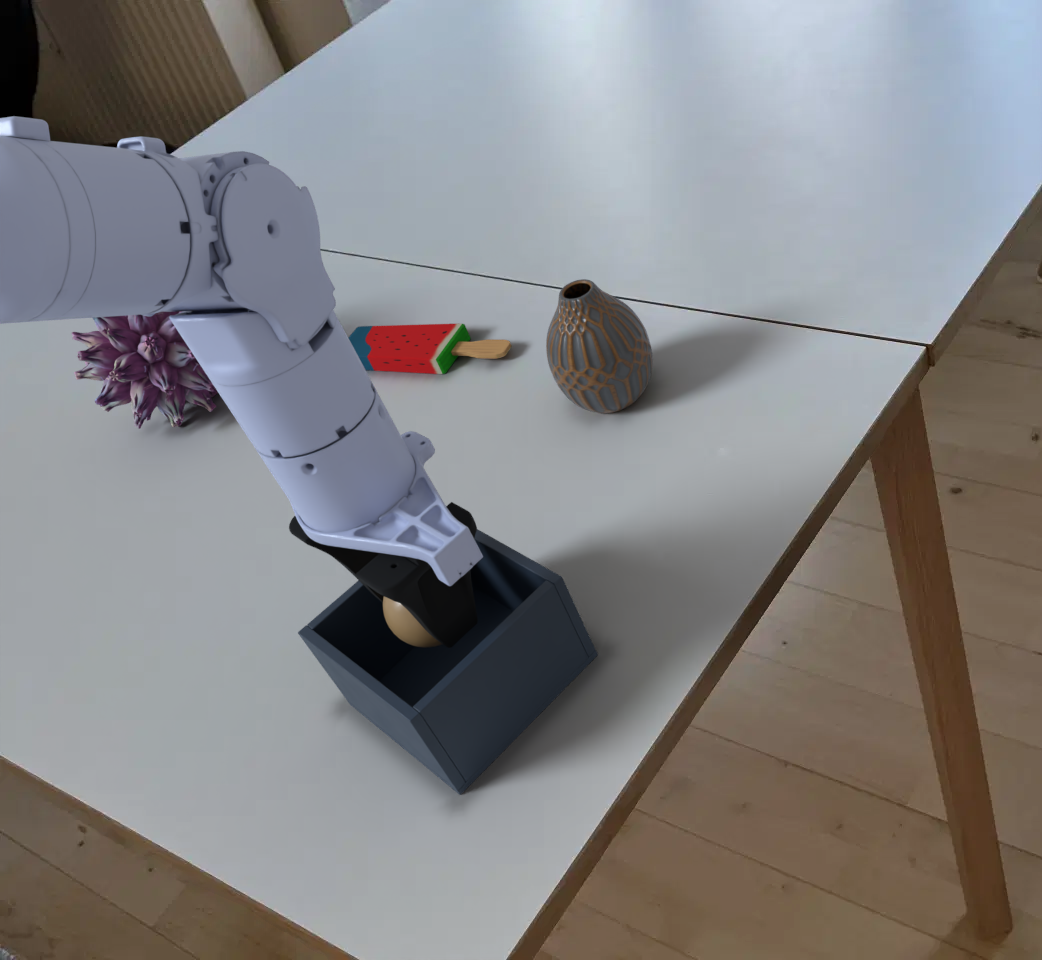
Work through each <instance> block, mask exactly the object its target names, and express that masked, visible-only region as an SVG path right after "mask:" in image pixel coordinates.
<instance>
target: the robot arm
mask: <svg viewBox="0 0 1042 960" xmlns="http://www.w3.org/2000/svg"><path fill="white" fill-rule="evenodd" d="M49 128H50V127H49V124H48V122H47V121H46V120H44V119H42V118H41V119H40V118H32V117H24V116H15V115H13V116H7V117H0V325H1V324H3V325H4V324H17V323H20V324H21V323H32V322H33V323H34V322H45V321H47V322H48V321H62V320H64V321H65V320H77V319H93V318H95V317H111V316H126V315H144V316H153V315H154V314H155V313H159V312H177V311H182V312H181V313H178V314H176V315H170V317H169V318H170V320H171V321H172V323H173V324H174V326H175V327H176V329H177V331H178V332H179V334H180V335H181V337H182V338H183V340H184V341H185V343H186V344H187V346H188V347H189V349H190V350H191V352H192V353H193V355H194V356H195V358H196V359H197V361H198V362H199V364H200V365H201V367H202V368H203V370H204V371H205V373H206V375H207V376H208V377H209V379H210V381H211V382H212V384H213V385H214V387H215V388H216V390H217V394H219V397H220V398H221V399H222V400H223V402H224V404H225V405H226V407H227V408H228V409H229V411H230V412H231V414H232V415H233V417H234V419H235V420H236V422H237V423H238V425H239V426H240V428H241V429H242V431H243V433H244V434H245V436H246V437H247V439H248V440H249V442H250V443H251V445H252V446H253V447H254V449H255V451H256V452H257V454H258V455H259V456H260V458H261V460H262V462H263V463H264V464H265V466H266V468H267V469H268V471H269V472H270V473H271V475H272V476H273V478H274V479H275V481H276V482H277V485H278V486H279V487H280V488H281V490H282V492H283V493H284V495H285V496H286V498H287V500H288V501H289V502H290V505H291V508H292V511H293V513H294V516H293V517H292V518H291V519H290V522H289V524H288V529H289V532H290V534H291V535H293V536H294V537H295V538H297V539H298V540H300V541H301V542H303V543H304V544H306V545H307V546H309V547H311V548H314V549H317V550H319V551H322V552H324V553H325V554H327V555H329V556H331V557H332V558H333V559H335V560H336V562H338V563H339V564H340V565H341V566H343V567H344V568H345V569H346V570H347V571H348V572H349V573H350V574H351V575H352V576H353V577H355V578H356V580H357V581H358V580H359V581H360V582H361V583H362V584H363V585H364V586H365V587H366V588H367V589H368V590H369V591H370V592H371V593H372V594H373V595H374V596H375V597H377V598H378V599H379V600H380V601H381V602H383V597H384V596H385V597H387V598H389V599H391V600H393V601H395V602H398V603H400V604H402V605H403V606H404V607H405V608H406V609H407V610H408V611H409V612H410V613H411V614H412V615H413V616H414V618H415V619H416V620H417V621H418V622H419V623H420V624H421V626H422V627H423V628H424V629H425V630H426V631H427V632H428V633H429V634H430V635H431V636H432V637H434V638H435V639H436V640H438V641H439V642H440V643H442V644H443V645H445V646H446V647H448V648H451V647H452V646H454V645H455V644H456V643H457V642H458V641H459V640H460V639H461V638H462V637H463V636H464V635H465V634H466V633H467V632H468V631H469V630H471V629H472V628H473V627H474V626H475V625H476V624H477V622H478V619H477V612H476V606H475V600H474V595H473V589H472V583H471V573H470V569H471V568H472V567H473V566H474V565H475V564H476V563H477V562H478V561H479V560H481V559H482V558H483V555H482V553H481V551H480V549H479V547H478V546H477V544H476V542H475V540H474V538H475V534H476V531H477V529H478V527H477V524H476V521H475V518H474V517H473V515H472V513H471V512H470V511H469V510H468V509H465V508H463V507H462V506H460V505H458V504H456V503H454V502H453V501H451V502H449V503H448V504H447V505H446V504H445V501H444V500H443V498H442V496H441V495H440V493H439V492H438V490H437V488H436V487H435V485H434V483H433V481H432V480H431V478H430V476H429V474H428V473H427V471H426V469H425V468H424V466H425V464H426V462H428V460H430V459H431V458H433V456H434V455H435V452H436V448H435V446H434V444H433V443H432V440H431V439H430V438H428V437H427V436H425V435H423V434H421V433H418V432H417V431H413V430H409V431H405V432H403V433H402V434H401V433H400V431H399V430H398V428H397V426H396V424H395V422H394V420H393V418H392V416H391V415H390V412H389V411H388V409H387V407H386V405H385V403H384V401H383V400H382V398H381V395H380V394H379V392H378V390H377V389H376V387H375V385H374V383H373V381H372V379H371V377H370V376H369V374H368V372H367V370H365V368H364V366H363V364H362V362H361V361H360V359H359V357H358V355H357V353H356V351H355V349H354V348H353V346H352V344H351V342H350V340H349V336H348V335H347V333H346V331H345V329H344V327H343V325H342V323H341V322H340V319H339V318H338V315H337V314H336V311H335V308H336V306H337V305H336V304H337V301H336V298H335V296H334V291H335V290H336V287H335V285H334V284H333V282H332V280H331V277H330V275H329V274H328V273H327V269H326V268H325V265H324V262H323V258H322V252H321V230H320V224H319V218H318V217H319V216H318V213H317V209H316V206H315V202H314V200H313V197H312V195H311V193H310V191H309V188H308V186H306V185H303V186H301V187H299V186H298V185H296V183H295V182H294V181H293V179H292V178H291V177H290V176H289V175H287V174H286V173H285V172H284V171H283V170H281V169H280V168H278V167H276V166H273V165H270V161H269V160H267V159H266V158H265V157H262V156H260V155H259V154H257V153H254V152H250V151H243V150H242V151H227V152H221V153H219V152H218V153H211V154H202V155H195V156H187V157H186V156H185V157H178V156H176V155H173V154H170V153H168V152H167V150H166V145H165V142H164V141H163V139H161V138H159V137H158V138H157V137H149V136H133V137H125V138H121V139H119V141H118V142H117V146H116V147H114V146H104V145H94V144H85V143H74V142H65V141H55V140H51V134H50V129H49Z"/></svg>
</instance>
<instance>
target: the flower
mask: <svg viewBox="0 0 1042 960" xmlns="http://www.w3.org/2000/svg"><path fill="white" fill-rule="evenodd" d="M181 312H182V311H177V312H159V313H155V314H154V315H153V316H144V315H126V316H111V317H95V318H92V320H93V321H94V323H95V326H96V329H97V330H91V331H89V332H79V331H72V332H71V336H72V340H73V341H77V342H80V343H81V344H83V345H84V346H85V347H87V349H84V350H83V349H82V350H79V351H77V353H76V354H77V356H76V357H77V359H78V361H79V362H84V364H85V366H84V367H82V368H81V369H79V370H76V371H74V372H73V374H74V377H75V380H83V379H86V380H92V381H97V382H103V383H102V385H101V389H100V393H99V395H98V396H97V397H96V398H95V399H94V403H95V405H97V406H99V407H100V408H101V409H102V410H103V411H105V412H106V413H109V412H110V411H111V410H112V409H114V408H116V407H121V406H123V405H128V404H130V407H131V412H132V415H133V426H134V427H137V428H138V430H140V429H141V428H142V426H143V424H144V422H145V421H146V422H147V421H151V418H152V413H153V412H154V411H155V409H156V408H157V409H158V410H159V412H160V413H161V415H163V416H164V417H165V418H166V419H167V420H168V421H169V423H170V425H171V427H172V428H176V427H181V426H182V425H183V423H182V422H183V421H184V420H185V416H184V409H185V405H186V401H187V402H188V403H189V404H191V405H197V406H201V407H203V408H204V409H206V410H207V411H208V412H210V413H211V412H213V411H214V409H215V408H217V405H216V404H215V402H213V399H212V398H214V397H215V396H216V395H217V394H218V391H217V390H216V388H215V387H214V385H213V384H212V382H211V381H210V379H209V377H208V376H207V375H206V373H205V371H204V370H203V368H202V367H201V365H200V364H199V362H198V361H197V359H196V358H195V356H194V355H193V353H192V352H191V350H190V349H189V347H188V346H187V344H186V343H185V341H184V340H183V338H182V337H181V335H180V334H179V332H178V331H177V329H176V327H175V326H174V324H173V323H172V321H171V320H170V318H169V317H170V315H176V314H178V313H181Z"/></svg>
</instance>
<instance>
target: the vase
mask: <svg viewBox="0 0 1042 960" xmlns="http://www.w3.org/2000/svg"><path fill="white" fill-rule="evenodd" d="M545 341H546V343H545V345H546V347H545V348H546V349H545V350H546V358H547V365H548V367H549V370H550V372H551V375H552V377H553V380H554V381H555V383H556V385H557V387H558V388H559V390H560V391H561V393H562V394H563V395H564V396H565V397H566V398H567V399H568V400H569V401H570V402H572V403H573V404H574V405H575V406H577V407H579V408H581V409H583V410H586V411H589V412H592V413H597V414H612V413H617V412H620V411H622V410H625V409H626V408H628V407H630V406H632V405H633V404H634V403H635V402H637V400H638V399H639V398H640V397H641V396H642V394H643V393H644V392H645V391H646V389H647V387H648V384H649V382H650V380H651V377H652V372H653V361H654V359H653V350H652V349H653V348H652V344H651V342H650V338H649V334H648V332H647V329H646V327H645V326H644V324H643V322H642V320H641V318H640V317H639V316H638V314H636V312H635V311H634V310H633V308H631V306H629V305H628V304H627V303H625V302H624V301H623V300H621V299H620V298H617V297H616V296H614V295H611V294H610V293H607V292H606V291H604V290H602V289H601V287H599V286H598V285H597V284H596V283H595V282H594V281H592V280H590V279H585V278H584V279H583V278H582V279H575V280H573V281H570V282H568V283H566V284H565V285H564V286H563V287H562V288H561V289H560V291H559V293H558V301H557V306H556V309H555V311H554V313H553V316H552V318H551V321H550V323H549V326H548V330H547V333H546V340H545Z"/></svg>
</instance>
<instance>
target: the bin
mask: <svg viewBox="0 0 1042 960" xmlns="http://www.w3.org/2000/svg"><path fill="white" fill-rule="evenodd" d="M474 540H475V542H476V544H477V546H478V547H479V549H480V551H481V553H482V555H483V558H482V559H481V560H479V561H478V562H477V563H476V564H475V565H474V566H473V567H472V568H471V569H470V573H471V583H472V589H473V595H474V600H475V606H476V612H477V619H478V622H477V624H476V625H475V626H474V627H473V628H472V629H471V630H469V631H468V632H467V633H466V634H465V635H464V636H463V637H462V638H461V639H460V640H459V641H458V642H457V643H456V644H455V645H454V646H452V647H451V648H448V647H446V646H445V645H443V644H442V645H439V646H435V647H417V646H413V645H410V644H408V643H406V642H404V641H402V640H401V639H399V638H398V637H397V636H396V635H395V634H394V633H393V632H392V630H391V629H390V628H389V626H388V624H387V622H386V620H385V616H384V612H383V602H381V601H380V600H379V599H378V598H377V597H375V596H374V595H373V594H372V593H371V592H370V591H369V590H368V589H367V588H366V587H365V586H364V585H363V584H362V583H361V582H360V581H359V580H358V579H357V581H356V582H355V583H354V584H352V585H351V586H350V587H349V588H348V589H346V590H345V591H344V592H343V593H341V595H339V596H338V597H337V598H336V599H335V600H334V601H333V602H331V603H330V604H329V605H328V606H327V607H325V609H323V610H322V611H321V612H320V613H319V614H318V615H317V616H315V617H314V618H313V619H311V620H310V622H308V623H307V625H304V626H303V627H302V628H301V629H300V630H298V632H297V634H298V635H299V638H301V640H302V641H303V643H304V644H305V645H306V646H307V648H308V649H309V651H310V652H311V653H312V655H313V656H314V658H315V659H316V660H317V662H318V663H319V664H320V666H321V667H322V668H323V670H324V671H325V673H326V674H327V675H328V676H329V678H330V680H331V681H332V682H333V683H334V685H335V686H336V687H337V689H338V690H339V691H340V693H341V694H342V696H343V697H344V699H345V700H346V701H347V702H348V704H349V705H350V706H351V707H352V708H354V710H356V711H357V712H358V713H359V714H361V715H362V716H363V717H364V718H366V719H367V720H368V721H369V722H370V723H372V724H373V725H374V726H375V727H377V729H379V730H380V731H381V732H382V733H384V734H385V735H386V736H388V737H389V738H390V739H391V740H392V741H394V743H396V744H397V745H398V746H400V747H401V748H402V749H403V750H404V751H406V752H407V753H408V754H409V755H410V756H412V757H413V758H414V759H416V761H418V762H419V763H420V764H422V765H423V766H424V767H425V768H426V769H428V770H429V772H431V773H433V774H434V775H435V776H436V777H437V778H438V779H440V780H441V781H442V782H443V783H445V784H446V785H447V786H448V787H450V789H452V790H453V791H455V793H457V794H458V795H459V796H461V795H463V793H464V792H465V791H466V790H467V789H468V788H469V787H470V786H471V785H472V784H473V783H474V782H475V781H476V780H477V779H478V778H479V777H480V776H481V775H482V774H483V773H484V772H485V771H486V770H487V769H488V768H489V767H490V766H491V765H492V763H494V761H496V759H497V758H498V757H500V755H502V753H503V752H504V751H505V750H506V749H507V748H508V747H509V746H510V745H512V744H513V742H514V741H515V740H516V739H517V738H518V737H519V736H520V735H521V734H522V733H523V732H524V731H525V730H526V729H527V728H528V727H529V726H530V725H531V724H532V723H533V722H534V721H535V720H536V719H537V718H538V717H539V716H540V715H541V714H542V712H544V711H545V709H547V708H548V707H549V706H550V704H551V703H552V702H553V701H554V700H556V698H557V697H558V696H559V695H560V694H562V693H563V691H564V690H565V689H566V688H567V687H568V686H569V685H570V684H571V683H572V682H573V681H574V680H575V679H576V678H577V677H578V676H579V675H581V673H582V672H583V671H584V670H585V669H586V668H587V667H588V666H589V664H591V663H592V661H594V659H596V658H597V657H598V656H599V654H598V651H597V650H596V648H595V645H594V643H593V641H592V639H591V637H590V635H589V632H588V630H587V628H586V626H585V624H584V621H583V620H582V617H581V615H580V613H579V610H578V609H577V606H576V604H575V602H574V600H573V597H572V596H571V593H570V592H569V591H570V590H569V589H568V587H567V585H566V582H565V581H564V578H563V576H562V575H560V574H558V573H556V572H555V571H553V570H551V569H549V568H547V567H546V566H544V565H543V564H540V563H539V562H537V561H535V560H533V559H532V558H530V557H528V556H527V555H524V554H523V553H522V552H519V551H517V550H515V549H513V548H512V547H510V546H509V545H507V544H504V543H503V542H501V541H500V540H498V539H496V538H494V537H492V536H491V535H489V534H487V533H486V532H484V531H481V530H480V529H478V528H477V531H476V534H475V538H474Z"/></svg>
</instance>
